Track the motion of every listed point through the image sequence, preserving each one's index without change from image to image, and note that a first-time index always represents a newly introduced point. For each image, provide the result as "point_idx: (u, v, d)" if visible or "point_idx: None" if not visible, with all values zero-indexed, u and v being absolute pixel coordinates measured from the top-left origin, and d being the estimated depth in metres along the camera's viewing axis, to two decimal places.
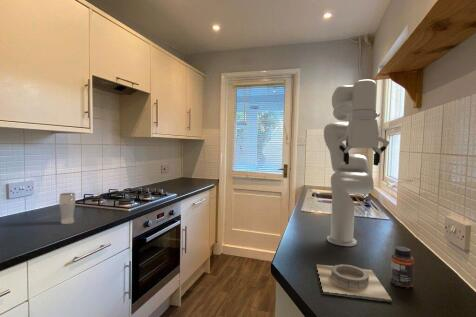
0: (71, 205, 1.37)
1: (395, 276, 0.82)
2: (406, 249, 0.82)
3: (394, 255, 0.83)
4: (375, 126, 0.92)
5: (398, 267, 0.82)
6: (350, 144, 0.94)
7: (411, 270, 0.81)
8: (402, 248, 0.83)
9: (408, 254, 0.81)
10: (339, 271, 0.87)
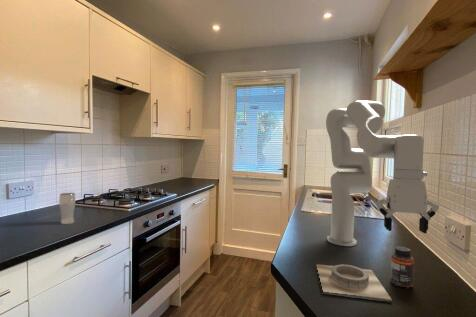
0: (71, 205, 1.37)
1: (395, 276, 0.82)
2: (406, 249, 0.82)
3: (394, 255, 0.83)
4: (423, 189, 0.79)
5: (398, 267, 0.82)
6: (393, 208, 0.81)
7: (411, 270, 0.81)
8: (402, 248, 0.83)
9: (408, 254, 0.81)
10: (339, 271, 0.87)
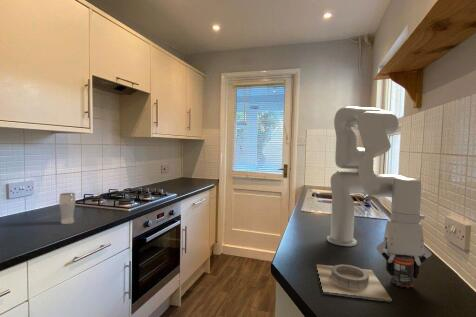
0: (71, 205, 1.37)
1: (395, 276, 0.82)
2: None
3: None
4: (420, 232, 0.80)
5: (398, 267, 0.82)
6: (390, 251, 0.82)
7: (411, 270, 0.81)
8: None
9: None
10: (339, 271, 0.87)
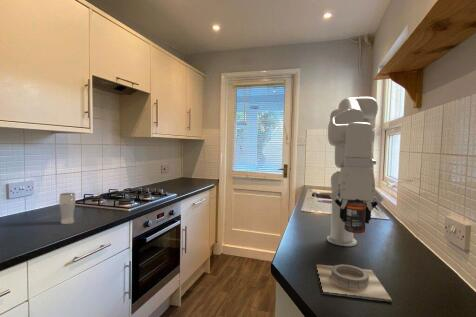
0: (71, 205, 1.37)
1: (347, 222, 0.82)
2: None
3: None
4: (371, 176, 0.79)
5: (350, 212, 0.81)
6: (342, 196, 0.81)
7: (363, 215, 0.80)
8: None
9: None
10: (339, 271, 0.87)
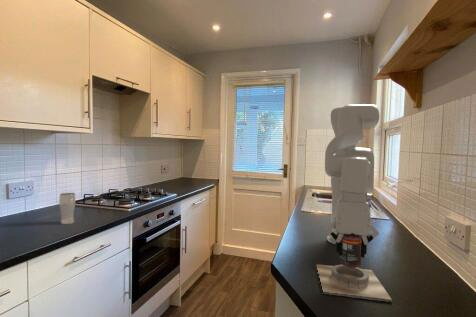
0: (71, 205, 1.37)
1: (343, 255, 0.82)
2: None
3: (343, 235, 0.83)
4: (366, 211, 0.80)
5: (345, 246, 0.81)
6: (338, 230, 0.82)
7: (358, 249, 0.80)
8: None
9: None
10: (339, 271, 0.87)
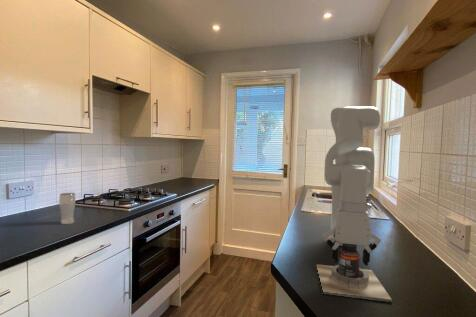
0: (71, 205, 1.37)
1: (341, 271, 0.82)
2: None
3: (341, 250, 0.83)
4: (366, 221, 0.80)
5: (343, 262, 0.82)
6: (337, 240, 0.82)
7: (356, 265, 0.81)
8: None
9: (354, 249, 0.81)
10: None
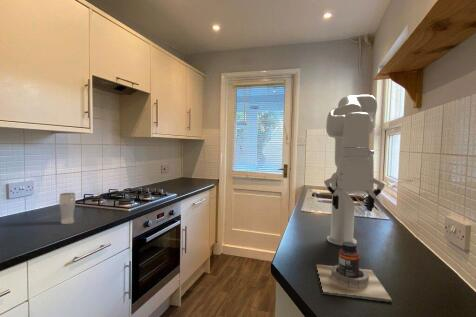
0: (71, 205, 1.37)
1: (341, 271, 0.82)
2: (352, 244, 0.83)
3: (341, 250, 0.83)
4: (369, 167, 0.79)
5: (343, 262, 0.82)
6: (340, 186, 0.81)
7: (356, 265, 0.81)
8: (349, 243, 0.84)
9: (354, 249, 0.82)
10: None
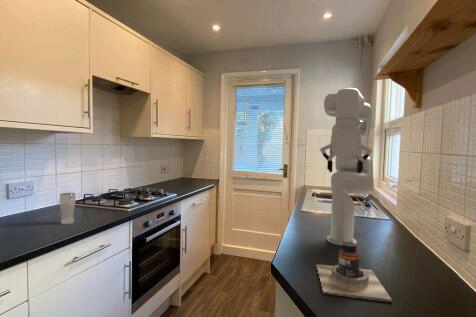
0: (71, 205, 1.37)
1: (341, 271, 0.82)
2: (352, 244, 0.83)
3: (341, 250, 0.83)
4: (358, 134, 0.93)
5: (343, 262, 0.82)
6: (333, 152, 0.94)
7: (356, 265, 0.81)
8: (349, 243, 0.84)
9: (354, 249, 0.82)
10: None
